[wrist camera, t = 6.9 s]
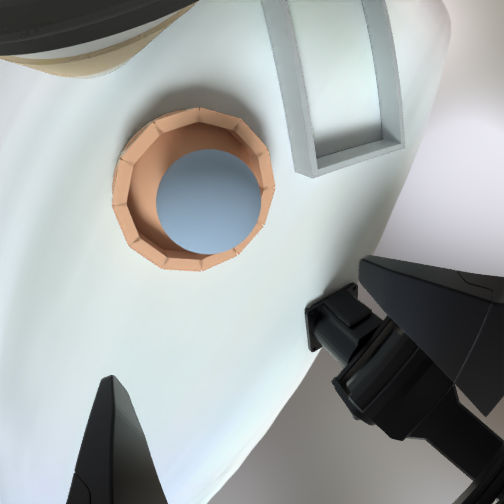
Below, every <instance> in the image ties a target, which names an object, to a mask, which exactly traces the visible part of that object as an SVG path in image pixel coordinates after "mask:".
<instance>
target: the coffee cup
mask: <svg viewBox="0 0 504 504" xmlns="http://www.w3.org/2000/svg"><path fill="white" fill-rule="evenodd" d="M198 1H199V0H0V59H3V60H6V61H9V62H13V63H16V64H20V65H23V66H27V67H30V68H33V69H36V70H39V71H42V72H45V73H49V74H52V75H56V76H62V77H70V78H75V79H90V78H96V77H100V76H103V75H106V74H108V73H110V72H113V71H114V70H116V69H118V68H120V67H121V66H123V65H124V64H125V63H127V62H128V61H129V60H130V59H131V58H132V57H133V56H134V55H135V54H137V53H138V52H139V51H141V50H142V49H143V48H144V47H145V46H146V45H147V44H149V43H150V42H151V41H152V40H153V39H154V38H155V37H156V36H157V35H159V34H160V33H161V32H162V31H163V30H164V29H166V28H167V27H168V26H169V25H170V24H172V23H173V22H174V21H175V20H177V19H178V18H179V17H180V16H182V15H183V14H184V13H185V12H187V11H188V10H189V9H190V8H191V7H193V6H194V5H195V4H196V3H197V2H198Z"/></svg>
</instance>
